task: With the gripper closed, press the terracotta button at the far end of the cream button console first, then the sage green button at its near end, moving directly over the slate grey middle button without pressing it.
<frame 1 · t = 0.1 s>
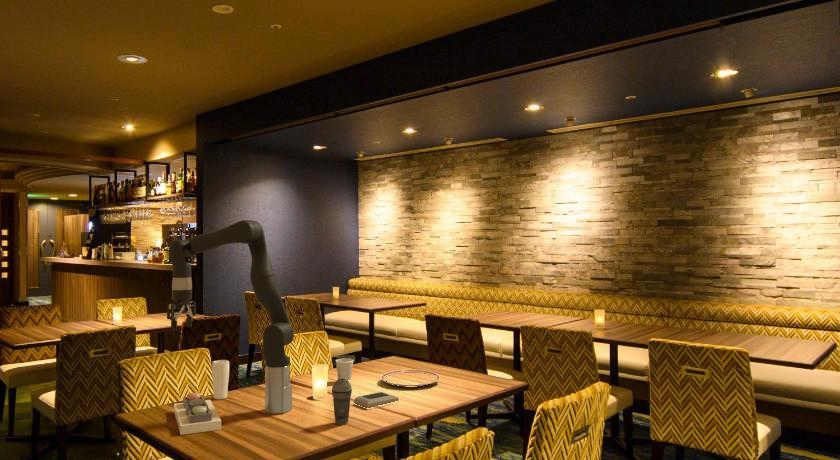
hand: (181, 328, 239), 29 cm above the table, tool pointing down, fingers open, 8 cm apart
sage button: (199, 411, 203), point 6 cm above the table, slide at 0.0 cm
dinner plate: (410, 383, 269), on the table
dixie cup: (344, 382, 270), on the table
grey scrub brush: (376, 405, 234), on the table
white tumbler: (220, 398, 242), on the table
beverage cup: (341, 423, 209), on the table
button console: (196, 420, 212), on the table
slate button: (196, 404, 212), point 6 cm above the table, slide at 0.0 cm
terracotta button: (193, 397, 221), point 6 cm above the table, slide at 0.0 cm
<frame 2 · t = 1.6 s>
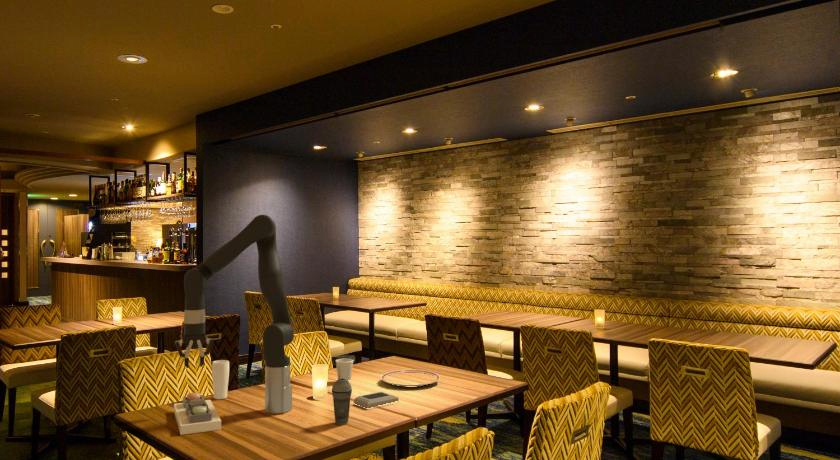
hand: (194, 366, 221), 17 cm above the table, tool pointing down, fingers open, 4 cm apart
nothing on the table moved.
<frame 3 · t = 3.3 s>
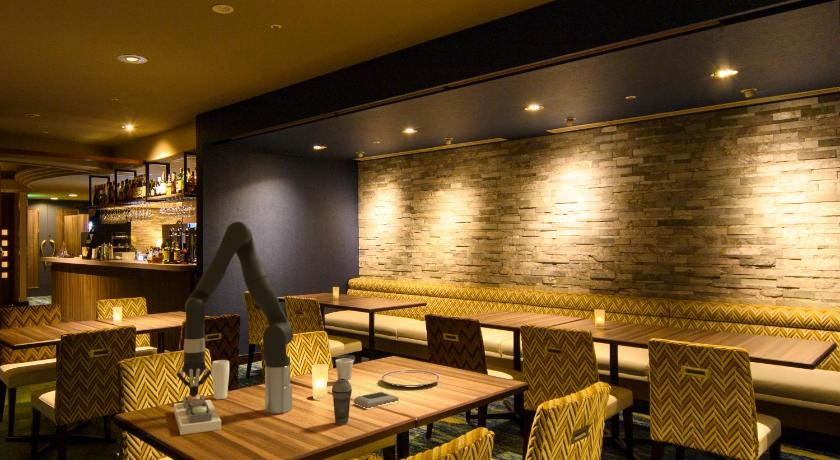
hand: (193, 396, 221), 6 cm above the table, tool pointing down, fingers closed
terracotta button: (193, 399, 221), point 5 cm above the table, slide at 0.8 cm, touching gripper
everything else where it was.
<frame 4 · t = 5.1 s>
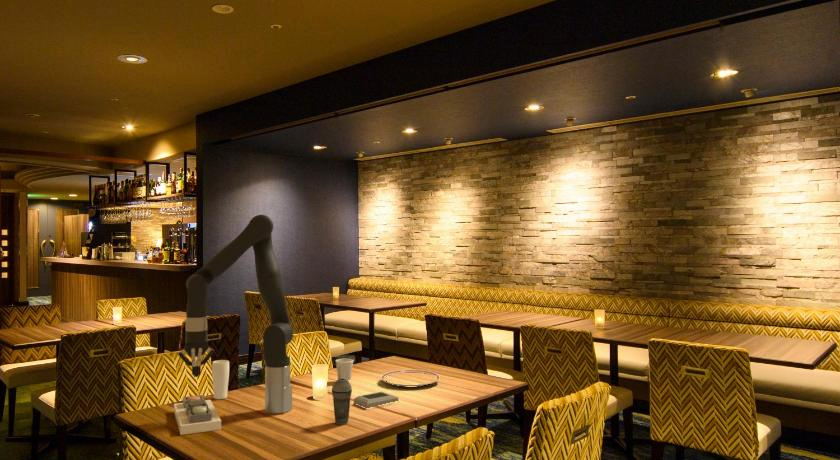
hand: (196, 376, 216), 15 cm above the table, tool pointing down, fingers closed
terracotta button: (193, 401, 221), point 4 cm above the table, slide at 1.3 cm
everything else where it was.
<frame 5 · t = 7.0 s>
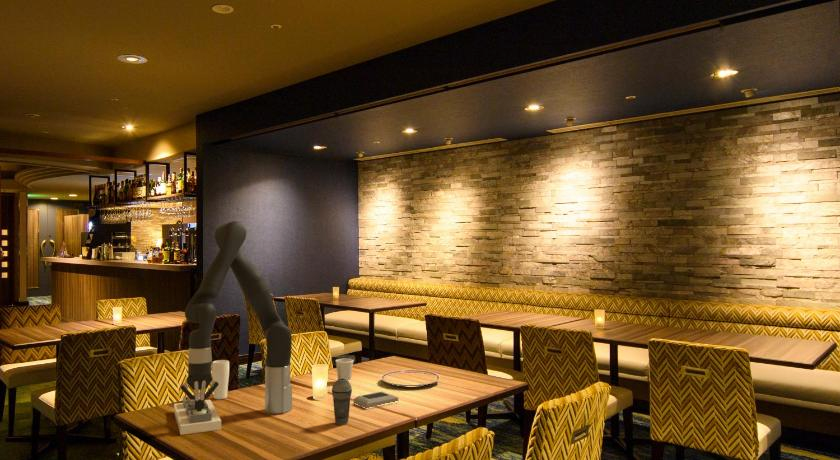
hand: (199, 410, 203), 6 cm above the table, tool pointing down, fingers closed
sage button: (199, 414, 203), point 5 cm above the table, slide at 1.1 cm, touching gripper
everything else where it was.
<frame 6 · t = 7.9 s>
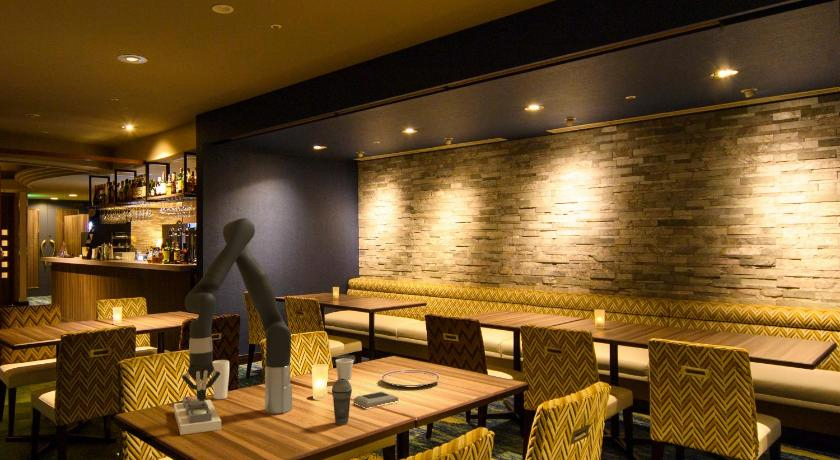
hand: (201, 400, 203), 10 cm above the table, tool pointing down, fingers closed
sage button: (199, 415, 203), point 4 cm above the table, slide at 1.3 cm
everything else where it was.
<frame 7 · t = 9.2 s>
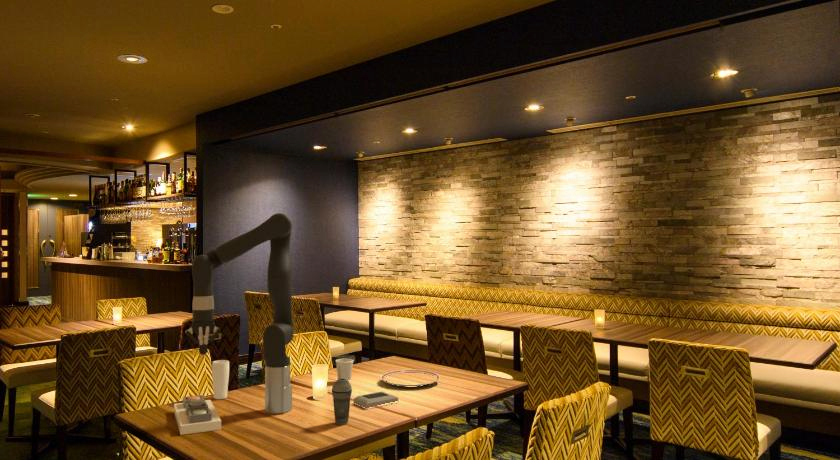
hand: (203, 354, 219), 22 cm above the table, tool pointing down, fingers closed
nothing on the table moved.
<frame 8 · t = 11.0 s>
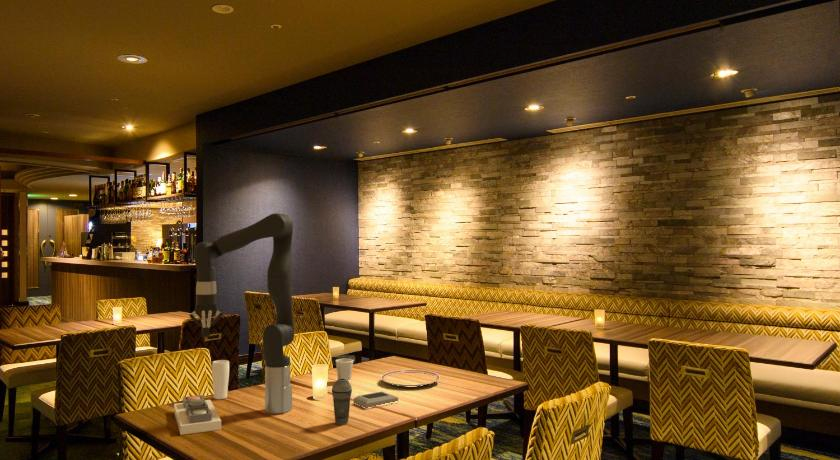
hand: (205, 337, 230), 27 cm above the table, tool pointing down, fingers closed
nothing on the table moved.
at the end: terracotta button slide at 1.3 cm; sage button slide at 1.3 cm; slate button slide at 0.0 cm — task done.
